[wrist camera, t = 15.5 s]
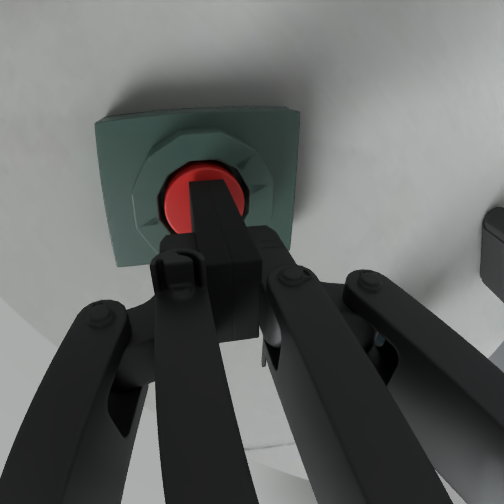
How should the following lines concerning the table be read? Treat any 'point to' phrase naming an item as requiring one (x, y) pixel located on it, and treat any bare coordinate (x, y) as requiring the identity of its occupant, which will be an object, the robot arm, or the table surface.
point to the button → (179, 190)
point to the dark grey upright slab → (493, 252)
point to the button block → (193, 149)
